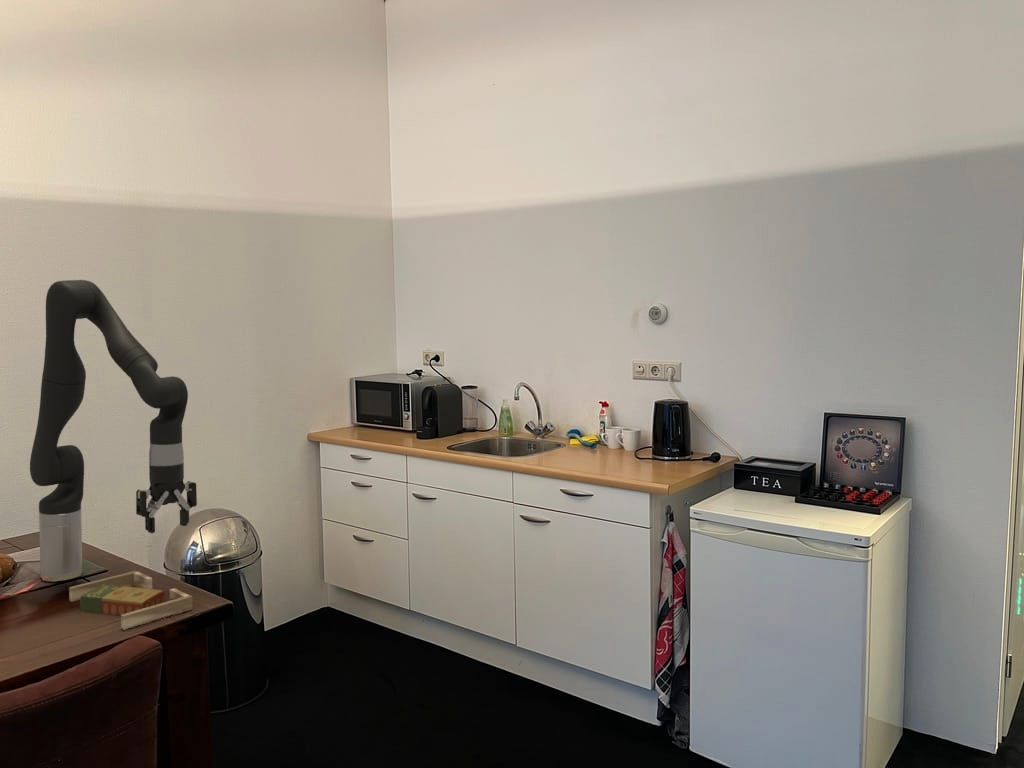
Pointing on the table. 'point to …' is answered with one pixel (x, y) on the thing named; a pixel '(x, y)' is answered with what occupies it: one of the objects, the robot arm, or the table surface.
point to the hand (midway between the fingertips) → (167, 528)
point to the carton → (119, 599)
